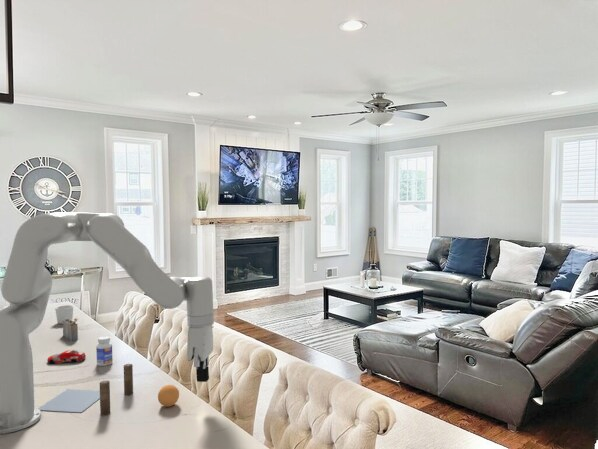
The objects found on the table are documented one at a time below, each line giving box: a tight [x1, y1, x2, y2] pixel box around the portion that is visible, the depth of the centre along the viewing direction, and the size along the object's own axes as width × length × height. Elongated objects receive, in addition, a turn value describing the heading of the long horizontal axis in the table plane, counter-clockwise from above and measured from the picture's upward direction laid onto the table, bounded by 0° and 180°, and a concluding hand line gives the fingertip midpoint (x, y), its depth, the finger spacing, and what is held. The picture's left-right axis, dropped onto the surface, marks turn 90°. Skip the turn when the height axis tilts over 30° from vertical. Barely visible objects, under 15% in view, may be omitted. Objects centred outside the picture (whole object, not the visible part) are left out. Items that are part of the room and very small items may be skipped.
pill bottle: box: [95, 336, 114, 367], centre depth 162 cm, size 5×5×10 cm
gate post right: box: [123, 363, 134, 396], centre depth 136 cm, size 3×3×9 cm
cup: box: [54, 304, 74, 325], centre depth 220 cm, size 11×8×8 cm
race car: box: [46, 349, 87, 365], centre depth 165 cm, size 13×5×4 cm, turn 96°
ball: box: [157, 384, 180, 407], centre depth 128 cm, size 6×6×6 cm
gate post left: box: [99, 380, 111, 417], centre depth 123 cm, size 3×3×9 cm
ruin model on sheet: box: [62, 317, 79, 342], centre depth 194 cm, size 11×3×10 cm, turn 45°
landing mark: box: [37, 388, 100, 414], centre depth 132 cm, size 14×14×1 cm
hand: (202, 380), depth 128 cm, fingers closed
